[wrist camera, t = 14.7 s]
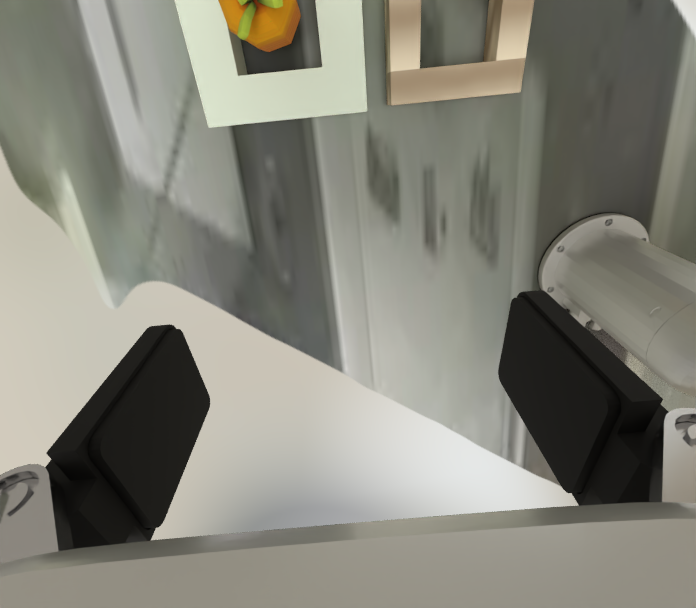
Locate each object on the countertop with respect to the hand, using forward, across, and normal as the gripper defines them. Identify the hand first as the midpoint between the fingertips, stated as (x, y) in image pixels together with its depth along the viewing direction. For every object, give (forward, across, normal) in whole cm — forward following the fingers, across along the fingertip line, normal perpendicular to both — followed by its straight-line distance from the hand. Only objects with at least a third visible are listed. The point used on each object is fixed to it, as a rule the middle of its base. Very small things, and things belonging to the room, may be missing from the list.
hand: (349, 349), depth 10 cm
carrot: (+31, +4, -12) cm, 33 cm away
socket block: (+30, -11, -11) cm, 34 cm away
